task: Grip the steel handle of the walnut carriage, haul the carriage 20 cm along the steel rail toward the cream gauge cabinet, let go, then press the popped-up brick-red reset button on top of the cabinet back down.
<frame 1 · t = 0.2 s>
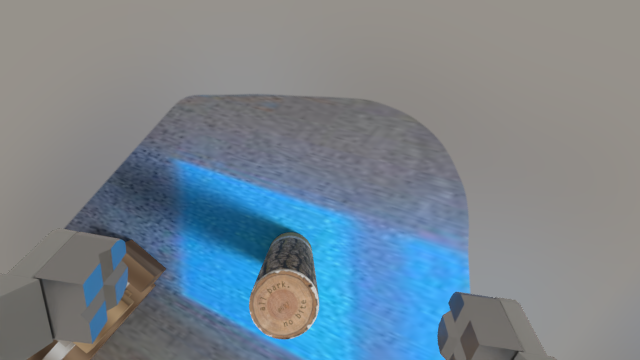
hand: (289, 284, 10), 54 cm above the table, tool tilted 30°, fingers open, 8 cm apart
carriage: (83, 317, 56), point 7 cm above the table, slide at -12.0 cm
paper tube: (290, 252, 64), on the table
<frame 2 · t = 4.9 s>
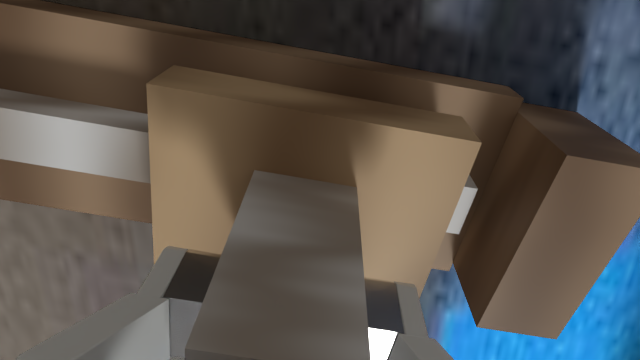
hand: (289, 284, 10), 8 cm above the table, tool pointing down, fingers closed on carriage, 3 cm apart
carriage: (294, 247, 11), point 6 cm above the table, slide at -12.0 cm, touching gripper
rail track: (17, 99, 16), on the table
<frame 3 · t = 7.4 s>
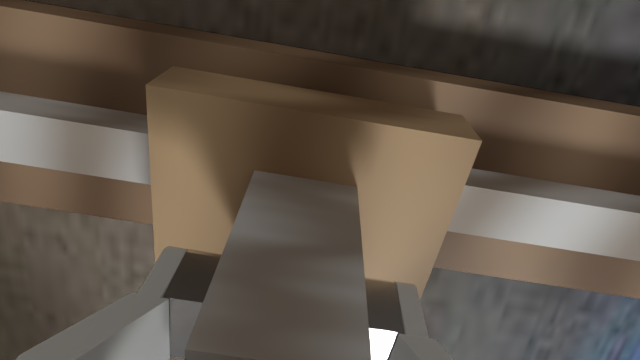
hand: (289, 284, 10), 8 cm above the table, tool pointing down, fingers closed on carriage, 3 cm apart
carriage: (295, 247, 11), point 7 cm above the table, slide at -0.6 cm, touching gripper
rail track: (295, 146, 17), on the table
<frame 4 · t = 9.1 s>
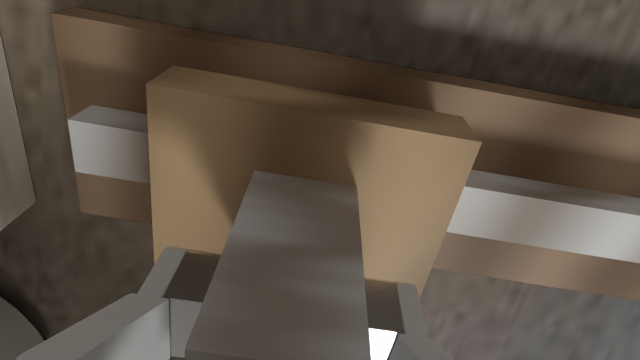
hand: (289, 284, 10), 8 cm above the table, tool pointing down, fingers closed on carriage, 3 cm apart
carriage: (294, 247, 11), point 7 cm above the table, slide at 7.9 cm, touching gripper
rail track: (491, 180, 17), on the table
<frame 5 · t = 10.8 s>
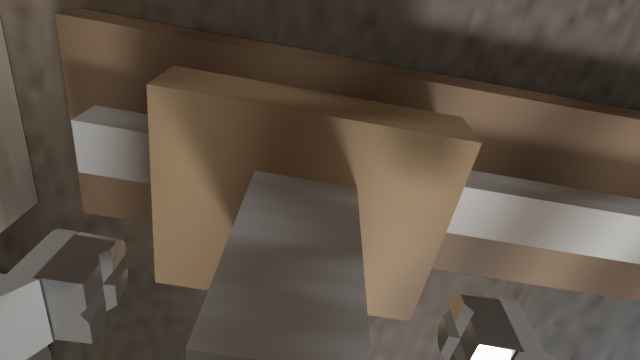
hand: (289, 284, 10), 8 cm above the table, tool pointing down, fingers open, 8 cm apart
carriage: (294, 248, 11), point 7 cm above the table, slide at 8.0 cm
rail track: (493, 181, 17), on the table
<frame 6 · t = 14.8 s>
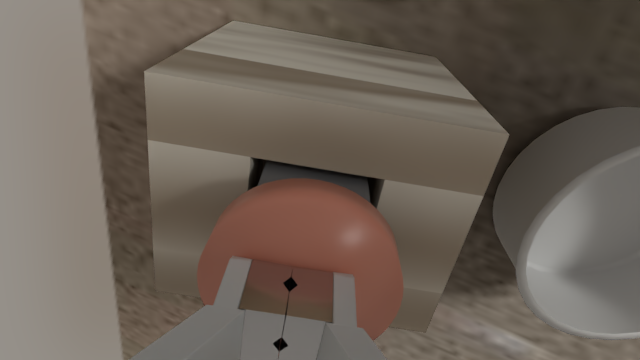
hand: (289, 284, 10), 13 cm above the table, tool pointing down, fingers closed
reset button: (305, 241, 12), point 11 cm above the table, slide at 1.7 cm, touching gripper
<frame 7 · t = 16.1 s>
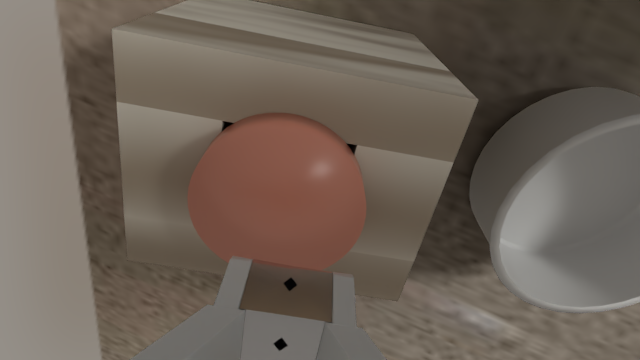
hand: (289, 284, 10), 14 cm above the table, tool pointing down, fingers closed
saucepan: (622, 180, 24), on the table
reset button: (283, 176, 14), point 9 cm above the table, slide at -0.1 cm
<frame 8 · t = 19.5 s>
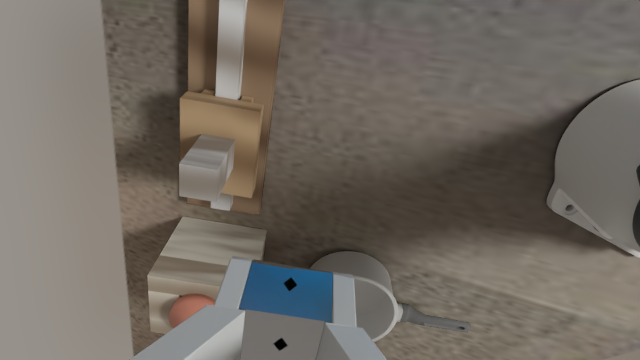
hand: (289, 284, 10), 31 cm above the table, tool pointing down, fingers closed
carriage: (214, 157, 36), point 6 cm above the table, slide at 8.0 cm
saucepan: (380, 282, 52), on the table
reset button: (201, 305, 42), point 9 cm above the table, slide at -0.1 cm
rail track: (236, 51, 38), on the table
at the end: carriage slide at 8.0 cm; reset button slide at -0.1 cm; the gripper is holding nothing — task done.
